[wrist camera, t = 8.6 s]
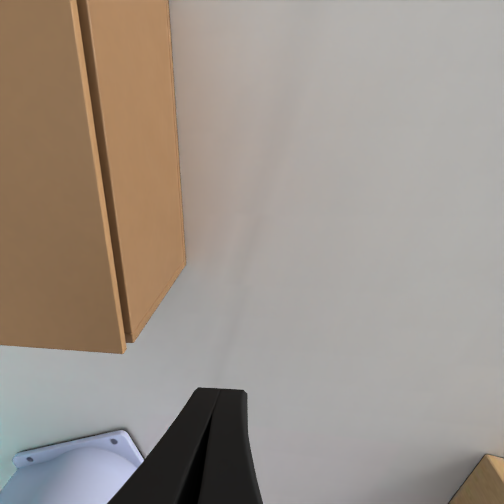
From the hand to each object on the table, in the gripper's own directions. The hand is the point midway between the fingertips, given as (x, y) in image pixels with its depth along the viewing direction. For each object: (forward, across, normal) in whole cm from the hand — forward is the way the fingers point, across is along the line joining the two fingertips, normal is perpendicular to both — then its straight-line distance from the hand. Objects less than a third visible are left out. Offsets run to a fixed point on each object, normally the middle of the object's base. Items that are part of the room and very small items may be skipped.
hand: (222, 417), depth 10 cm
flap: (+3, +7, -6) cm, 10 cm away
